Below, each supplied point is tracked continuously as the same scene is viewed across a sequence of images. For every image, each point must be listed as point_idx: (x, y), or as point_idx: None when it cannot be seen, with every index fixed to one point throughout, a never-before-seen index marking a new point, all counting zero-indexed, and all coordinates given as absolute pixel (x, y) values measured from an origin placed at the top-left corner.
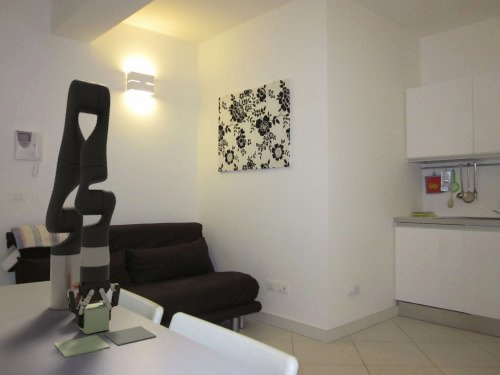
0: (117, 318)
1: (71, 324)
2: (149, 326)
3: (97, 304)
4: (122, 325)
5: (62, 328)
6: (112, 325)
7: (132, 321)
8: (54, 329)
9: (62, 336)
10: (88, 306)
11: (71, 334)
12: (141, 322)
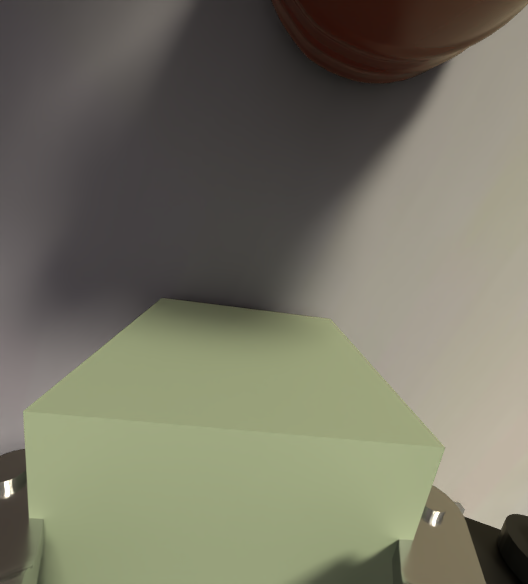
0: (499, 241)
1: (165, 107)
2: (495, 520)
3: (319, 517)
4: (415, 410)
5: (68, 165)
6: (375, 368)
7: (508, 381)
8: (3, 140)
9: (23, 354)
10: (151, 533)
11: (87, 356)
12: (524, 435)
